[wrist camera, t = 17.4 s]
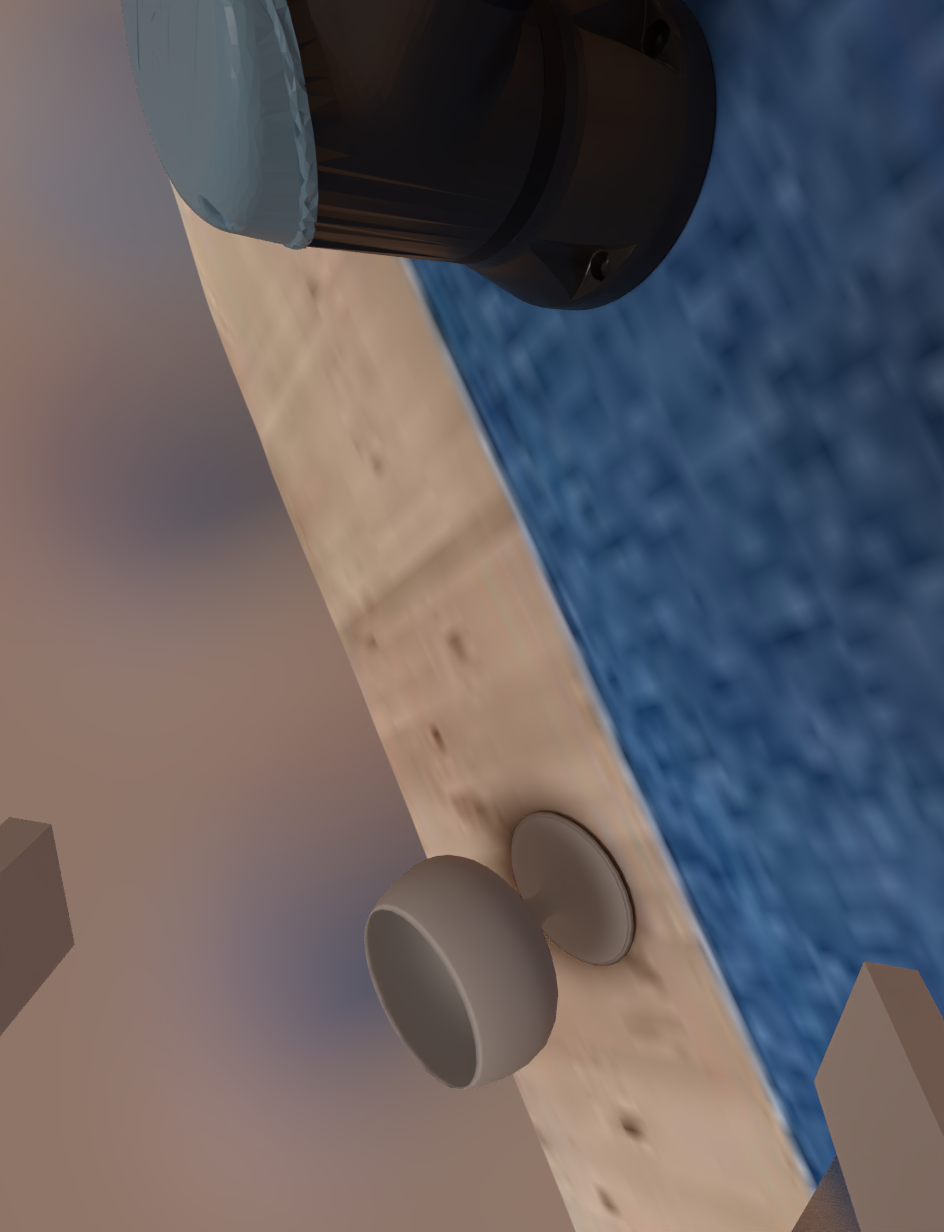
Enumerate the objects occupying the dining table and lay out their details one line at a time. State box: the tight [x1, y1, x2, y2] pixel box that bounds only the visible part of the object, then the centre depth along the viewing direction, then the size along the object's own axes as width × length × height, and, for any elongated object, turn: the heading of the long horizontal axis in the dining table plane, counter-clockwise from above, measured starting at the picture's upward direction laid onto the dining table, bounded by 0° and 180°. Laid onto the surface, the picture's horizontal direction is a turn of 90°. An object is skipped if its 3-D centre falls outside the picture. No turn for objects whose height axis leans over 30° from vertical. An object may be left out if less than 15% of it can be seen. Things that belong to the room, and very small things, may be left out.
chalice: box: [364, 812, 634, 1089], centre depth 49 cm, size 14×14×15 cm
